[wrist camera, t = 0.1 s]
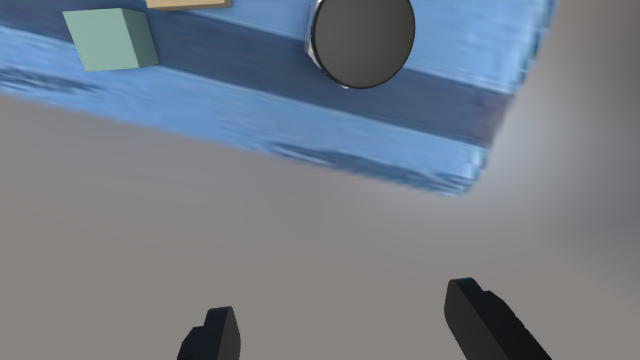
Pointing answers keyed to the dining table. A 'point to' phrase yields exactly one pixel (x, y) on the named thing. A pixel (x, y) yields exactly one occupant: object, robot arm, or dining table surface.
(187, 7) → the base block
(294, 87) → the dining table surface
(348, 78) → the jar
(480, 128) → the dining table surface
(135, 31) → the teal cube
